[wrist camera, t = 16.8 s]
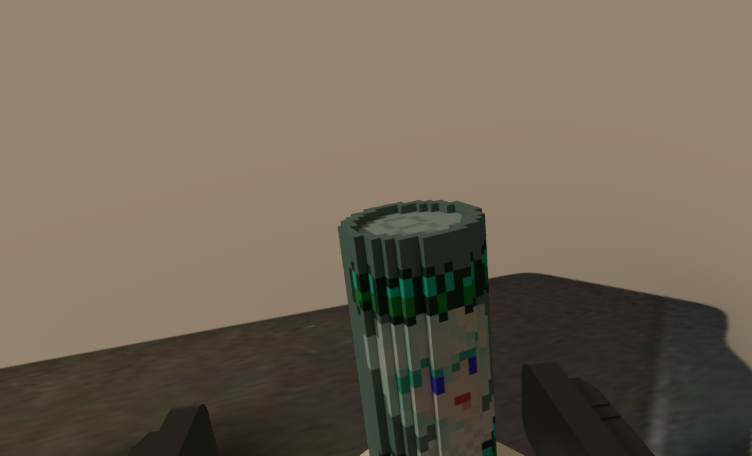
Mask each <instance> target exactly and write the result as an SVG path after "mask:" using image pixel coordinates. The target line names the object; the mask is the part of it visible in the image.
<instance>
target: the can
mask: <svg viewBox="0 0 752 456" xmlns="http://www.w3.org/2000/svg"><path fill="white" fill-rule="evenodd" d="M338 232H339V239H340V247H341V254H342V260H343V268H344V276H345V283H346V290H347V297H348V304H349V312H350V319H351V326H352V333H353V341H354V348H355V355H356V362H357V369H358V377H359V384H360V391H361V398H362V405H363V413H364V420H365V427H366V434H367V442H368V449H369V456H497V446H496V426H495V406H494V386H493V366H492V346H491V327H490V307H489V287H488V268H487V247H486V227H485V214H484V213H482V209H481V208H479V207H475V206H472V205H469V204H465V203H462V202H459V201H455V202H447V201H443V200H438V201H431V200H428V201H420V200H418V201H413V202H408V203H402V202H398V203H393V204H388V205H383V206H379V207H374V208H369V209H364V212H361V213H355V214H351V217H347V218H346V220H344V221H341V226H339V227H338Z"/></svg>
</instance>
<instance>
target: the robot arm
mask: <svg viewBox="0 0 752 456" xmlns="http://www.w3.org/2000/svg"><path fill="white" fill-rule="evenodd" d="M522 418H523V424H524V429H525V432H526V435H527V438H528V440H529V442H530V444H531V446H532V448H533V450H534V452H535V454H536V455H537V456H655V455H654V454H653V453H652V452H651V451H650V449H649V448H648V447H647V446H646V445H645V444H644V442H643V441H642V440H641V439H640V438H639V437H638V435H637V434H636V433H635V432H634V431H633V430H632V428H631V427H630V426H629V425H628V424H627V423H626V421H625V420H624V419H621V415H620V414H619V413H618V412H617V411H616V410H615V408H614V407H613V406H612V407H611V405H610V403H609V401H608V400H607V399H606V398H605V397H604V396H603V394H602V393H601V392H600V391H599V390H598V389H597V388H596V387H594V386H592V385H591V384H589V383H587V382H586V381H584V380H582V379H581V378H579V377H578V378H570V379H569V378H568V376H567V375H566V374H565V373H564V371H563V370H562V369H561V368H560V366H559V365H558V364H557V363H556V361H554V360H548V361H540V362H532V363H525V364H523V366H522ZM128 456H218V452H217V447H216V443H215V439H214V435H213V430H212V426H211V422H210V418H209V413H208V410H207V407H206V406H205V405H204V404H199V405H191V406H183V407H176V408H172V409H171V410H170V411H169V413H168V415H167V417H166V419H165V421H164V423H163V425H162V426H161V428H160V430H159V431H157V432H149V433H148V434H147V435H146V436H145V437H144V438H143V439H142V440H141V441H140V442H139V443H138V444H137V445H136V446H135V447H134V448H133V449H132V450H131V451H130V453H129V455H128Z"/></svg>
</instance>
